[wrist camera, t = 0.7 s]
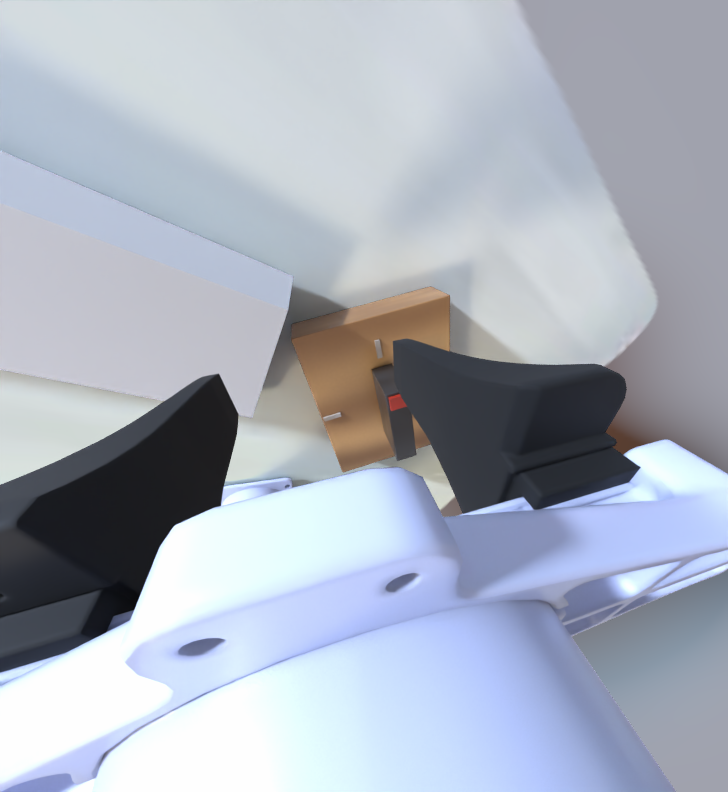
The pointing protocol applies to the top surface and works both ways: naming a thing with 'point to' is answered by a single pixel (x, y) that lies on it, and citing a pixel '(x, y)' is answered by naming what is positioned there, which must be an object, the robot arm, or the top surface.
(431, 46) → the top surface
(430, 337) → the panel
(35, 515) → the robot arm
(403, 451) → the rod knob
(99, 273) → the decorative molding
